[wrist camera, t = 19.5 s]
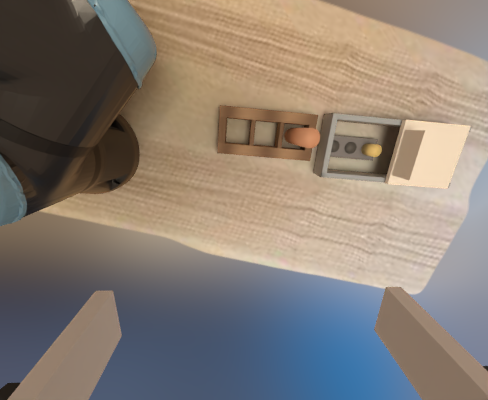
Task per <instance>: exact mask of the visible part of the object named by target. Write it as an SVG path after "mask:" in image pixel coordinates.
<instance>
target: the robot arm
mask: <svg viewBox="0 0 488 400" xmlns="http://www.w3.org/2000/svg"><path fill="white" fill-rule="evenodd" d="M156 55H157V51H156V44H155V42H154V39H153V37H152V35H151V33H150V31H149V30H148V28H147V27H146V25H145V24H144V22H143V21H142V19H141V18H140V17H139V15H138V14H137V12H136V11H135V10H134V8H133V7H132V6H131V4H130V3H129V2H128V0H0V226H2V225H5V224H10V223H13V222H16V221H18V220H21V218H23V217H25V216H27V215H30V214H32V213H34V212H37V211H39V210H41V209H43V208H46V207H48V206H50V205H53V204H55V203H57V202H60V201H62V200H64V199H67V198H69V197H71V196H74V195H76V194H78V193H85V194H101V193H106V192H110V191H113V190H115V189H117V188H119V187H121V186H123V185H124V184H126V183H127V182H128V181H129V180H130V179H131V178H132V176H133V175H134V173H135V172H136V169H137V167H138V163H139V146H138V142H137V139H136V136H135V134H134V132H133V130H132V128H131V127H130V125H129V124H128V123H127V122H126V120H125V119H124V118H123V117H122V116H121V115H120V114H119V113H120V111H121V110H122V109H123V107H124V106H125V104H126V103H127V102H128V100H129V99H130V97H131V96H132V95H133V93H134V92H135V90H136V89H137V88H138V89H140V88H141V86H142V81H143V79H144V78H145V76H146V74H147V73H148V71H149V70H150V68H151V67H152V65H153V63H154V62H155V59H156ZM374 330H375V332H376V333H377V334H378V336H379V337H380V339H381V340H382V342H383V343H384V345H385V346H386V348H387V349H388V350H389V352H390V353H391V355H392V356H393V358H394V359H395V361H396V362H397V364H398V365H399V366H400V368H401V369H402V371H403V372H404V374H405V375H406V377H407V378H408V380H409V381H410V382H411V384H412V385H413V387H414V388H415V390H416V391H417V392H418V394H419V396H420V397H421V398H422V400H488V366H482V365H480V364H479V363H478V362H477V361H476V360H475V359H474V358H473V357H472V356H471V355H470V354H469V353H468V352H467V351H466V350H465V349H464V348H463V347H462V346H461V345H460V344H459V343H458V342H457V341H456V340H455V339H454V338H453V337H452V336H450V334H449V333H448V332H446V330H445V329H443V328H442V327H441V326H440V325H439V324H438V323H437V322H436V321H435V320H434V319H433V318H432V317H431V316H430V315H429V314H428V313H427V312H426V311H425V310H424V309H423V308H422V307H421V306H420V305H419V304H418V303H417V302H416V301H415V300H414V299H413V298H412V297H411V296H410V295H409V294H408V293H406V292H405V291H404V290H403V289H402V288H401V287H386V289H385V292H384V296H383V300H382V303H381V307H380V311H379V314H378V318H377V321H376V325H375V329H374ZM120 338H121V330H120V324H119V319H118V314H117V310H116V304H115V299H114V294H113V291H95V293H94V294H93V295H92V296H91V297H90V299H89V300H88V301H87V302H86V304H85V305H84V306H83V307H82V309H81V310H80V311H79V312H78V313H77V315H76V316H75V317H74V319H73V320H72V321H71V322H70V323H69V325H68V326H67V327H66V328H65V329H64V331H63V332H62V333H61V334H60V336H59V337H58V338H57V339H56V340H55V342H54V343H53V344H52V345H51V347H50V348H49V349H48V350H47V352H46V353H45V354H44V355H43V356H42V358H41V359H40V360H39V361H38V363H37V364H36V365H35V366H34V368H33V369H32V370H31V371H30V372H29V374H28V375H27V376H26V377H25V379H24V380H23V381H22V382H21V383H7V384H6V385H5V386H4V387H3V388H1V389H0V400H88V399H89V397H90V395H91V394H92V392H93V390H94V388H95V386H96V384H97V382H98V380H99V378H100V376H101V374H102V372H103V371H104V369H105V367H106V365H107V363H108V361H109V359H110V357H111V355H112V353H113V351H114V349H115V347H116V346H117V344H118V342H119V340H120Z"/></svg>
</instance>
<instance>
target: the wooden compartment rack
mask: <svg viewBox="0 0 488 400" xmlns="http://www.w3.org/2000/svg"><path fill="white" fill-rule="evenodd" d="M227 118H234V119H244V120H251V124H250V135H249V144H239V143H228V142H226V129H227ZM317 118H318V115H313V114H303V113H292V112H282V111H272V110H262V109H252V108H241V107H231V106H221V105H220V114H219V133H218V153H224V154H236V155H248V156H259V157H271V158H282V159H294V160H305V161H310V158H311V152H312V148H305V147H302V146H301V147H300V149H296V148H284V147H281V146H282V139H283V131H284V124H285V123H286V124H297V125H304V128H315V129H316V124H317ZM256 121H265V122H276V123H278V124H277V132H276V140H275V147H273V146H262V145H253V143H254V133H255V123H256Z"/></svg>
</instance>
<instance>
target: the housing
mask: <svg viewBox="0 0 488 400" xmlns="http://www.w3.org/2000/svg"><path fill="white" fill-rule="evenodd" d="M337 121H343V122H354V123H364V124H374V125H384V126H395V127H401V123H402V120H398V119H388V118H377V117H367V116H357V115H347V114H337V113H331V114H324V117H323V123H322V128H321V133H320V141H319V144H318V150H317V155H316V161H315V166H314V172H313V173H315V174H316V175H318V176H320V177H325V178H337V179H349V180H361V181H373V182H385V180H386V176H387V174H376V173H364V172H352V171H340V170H329V169H328V164H329V159H330V157H340V158H351V159H362V160H373V157H377V156H379V155H380V154H381V151H382V148H381V146H380V145H377V141H378V139H368V138H357V137H346V136H336V135H334V134H335V129H336V124H337ZM470 130H471V127H470ZM470 130H469V132H470ZM449 186H450V183H449ZM449 186H448V188H449Z"/></svg>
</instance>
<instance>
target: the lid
mask: <svg viewBox="0 0 488 400" xmlns="http://www.w3.org/2000/svg"><path fill="white" fill-rule="evenodd" d="M470 127H471V126H466V125H455V124H445V123H435V122H425V121H415V120H402V123H401V127H400V130H399V134H398V138H397V141H396V145H395V148H394V152H393V155H392V159H391V162H390V166H389V169H388V173H387V176H386V180H385V183H387V184H395V185H407V186H419V187H432V188H444V189H448V186H449V183H450V181H451V178H452V175H453V173H454V170H455V167H456V165H457V162H458V159H459V157H460V154H461V151H462V149H463V146H464V143H465V140H466V138H467V135H468V132H469V130H470Z"/></svg>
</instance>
